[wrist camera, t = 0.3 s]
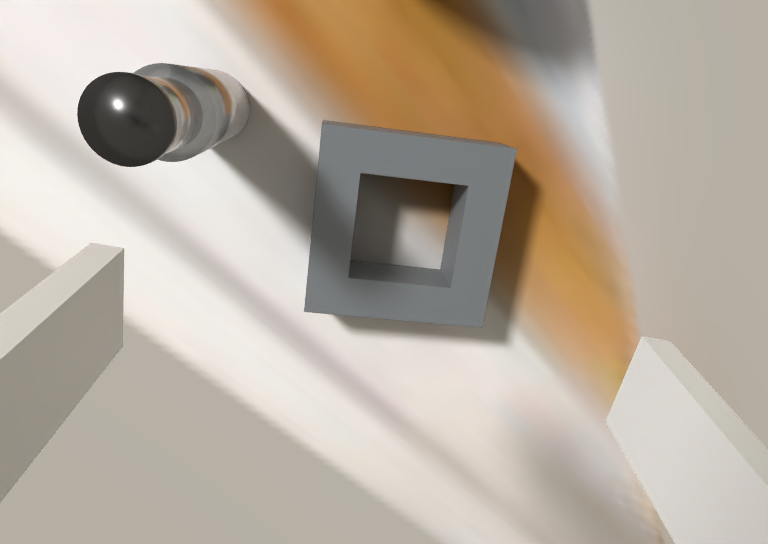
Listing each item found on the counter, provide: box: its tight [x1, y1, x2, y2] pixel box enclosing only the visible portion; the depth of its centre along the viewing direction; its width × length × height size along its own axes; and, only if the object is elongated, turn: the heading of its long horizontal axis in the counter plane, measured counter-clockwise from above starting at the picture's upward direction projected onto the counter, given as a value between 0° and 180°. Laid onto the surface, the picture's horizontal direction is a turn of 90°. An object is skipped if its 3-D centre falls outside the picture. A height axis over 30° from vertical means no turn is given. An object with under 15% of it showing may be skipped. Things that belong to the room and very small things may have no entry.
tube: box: [77, 63, 249, 167], centre depth 29 cm, size 4×4×17 cm
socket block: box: [304, 120, 517, 328], centre depth 38 cm, size 12×12×4 cm
